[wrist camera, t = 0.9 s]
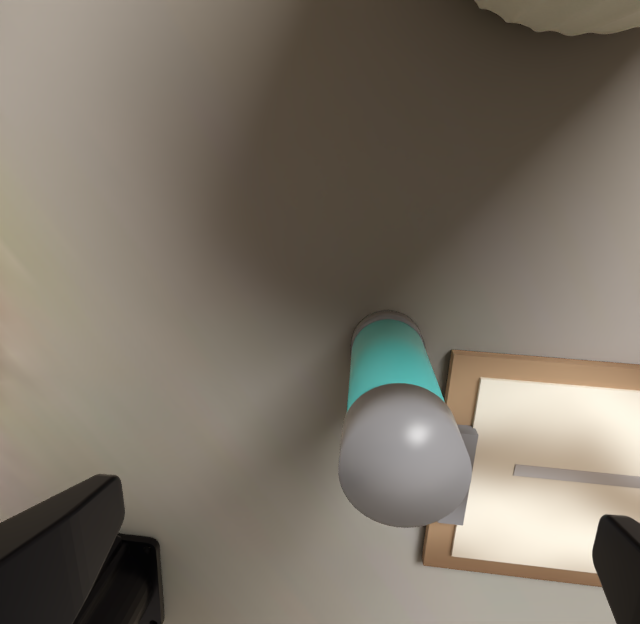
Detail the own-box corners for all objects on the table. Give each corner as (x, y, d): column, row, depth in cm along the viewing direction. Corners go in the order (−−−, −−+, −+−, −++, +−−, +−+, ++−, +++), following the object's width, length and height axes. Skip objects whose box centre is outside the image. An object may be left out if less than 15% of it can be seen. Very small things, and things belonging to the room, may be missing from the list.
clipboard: (696, 588, 22) (717, 614, 21) (421, 556, 24) (425, 578, 22) (777, 375, 19) (808, 390, 18) (451, 349, 20) (457, 361, 19)
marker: (419, 380, 21) (461, 534, 12) (347, 374, 21) (334, 520, 12) (427, 312, 20) (481, 421, 11) (352, 307, 20) (342, 408, 11)
